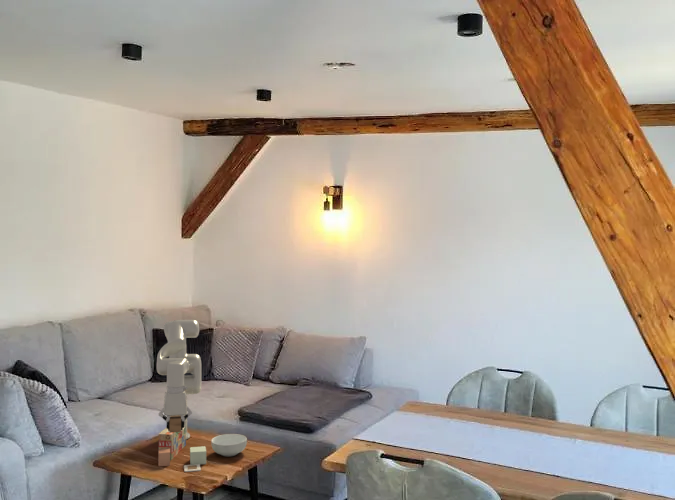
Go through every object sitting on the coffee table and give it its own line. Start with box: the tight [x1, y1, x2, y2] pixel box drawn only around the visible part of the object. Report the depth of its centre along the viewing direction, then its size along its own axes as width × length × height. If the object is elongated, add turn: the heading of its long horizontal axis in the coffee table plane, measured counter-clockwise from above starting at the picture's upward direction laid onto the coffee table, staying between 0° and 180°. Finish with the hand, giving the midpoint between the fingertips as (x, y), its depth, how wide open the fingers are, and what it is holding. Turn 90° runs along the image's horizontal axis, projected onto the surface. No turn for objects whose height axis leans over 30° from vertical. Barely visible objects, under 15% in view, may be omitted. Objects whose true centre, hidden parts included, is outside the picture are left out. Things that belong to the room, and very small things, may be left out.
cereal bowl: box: [210, 433, 248, 457], centre depth 313 cm, size 17×17×7 cm
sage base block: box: [189, 445, 207, 465], centre depth 302 cm, size 7×7×6 cm
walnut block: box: [169, 415, 181, 433], centre depth 294 cm, size 5×5×6 cm
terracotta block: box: [157, 449, 171, 467], centre depth 299 cm, size 5×5×6 cm
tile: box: [183, 464, 202, 473], centre depth 293 cm, size 7×7×1 cm
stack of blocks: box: [158, 426, 187, 461], centre depth 315 cm, size 21×6×12 cm, turn 175°
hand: (175, 429), depth 295 cm, fingers closed on walnut block, 5 cm apart
